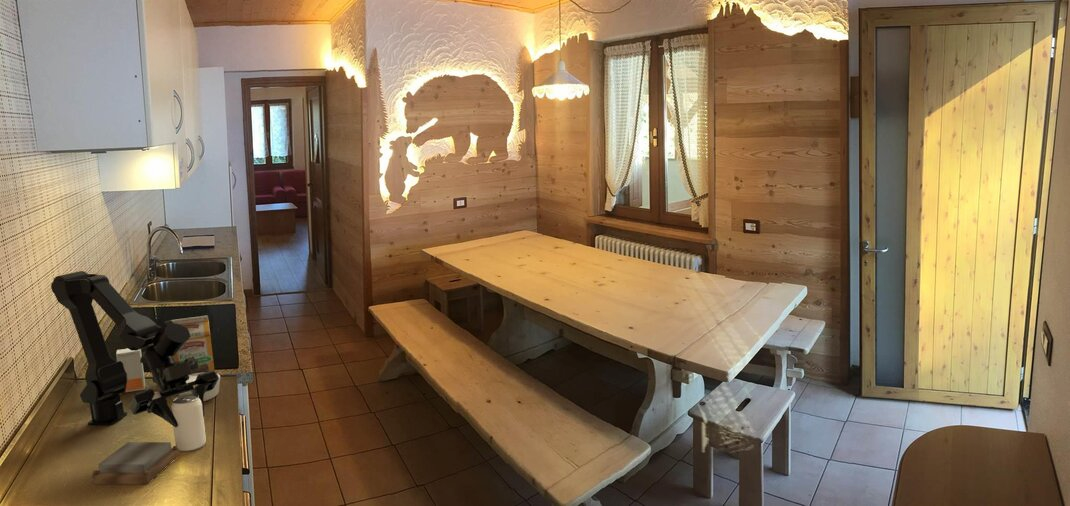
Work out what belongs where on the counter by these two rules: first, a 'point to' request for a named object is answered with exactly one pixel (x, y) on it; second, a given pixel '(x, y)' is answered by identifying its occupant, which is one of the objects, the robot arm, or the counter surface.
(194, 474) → the counter surface
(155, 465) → the whetstone on wooden base
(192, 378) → the ramekin
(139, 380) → the skincare box
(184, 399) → the can
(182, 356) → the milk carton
